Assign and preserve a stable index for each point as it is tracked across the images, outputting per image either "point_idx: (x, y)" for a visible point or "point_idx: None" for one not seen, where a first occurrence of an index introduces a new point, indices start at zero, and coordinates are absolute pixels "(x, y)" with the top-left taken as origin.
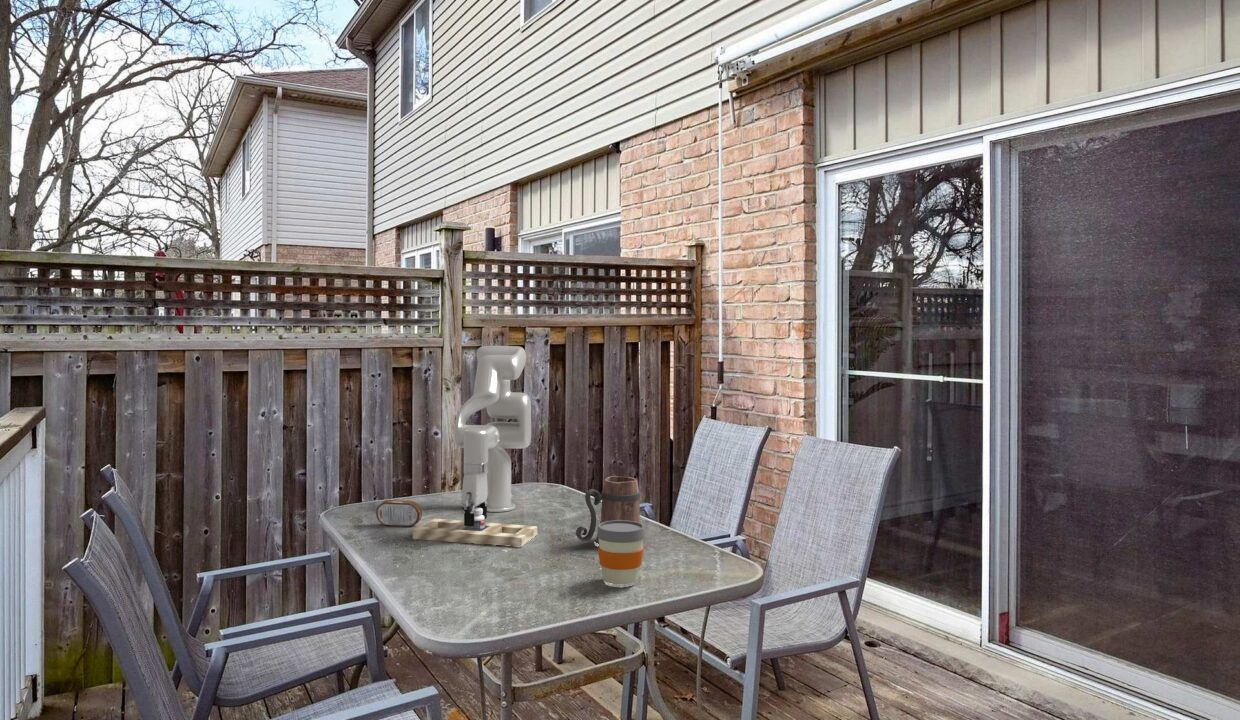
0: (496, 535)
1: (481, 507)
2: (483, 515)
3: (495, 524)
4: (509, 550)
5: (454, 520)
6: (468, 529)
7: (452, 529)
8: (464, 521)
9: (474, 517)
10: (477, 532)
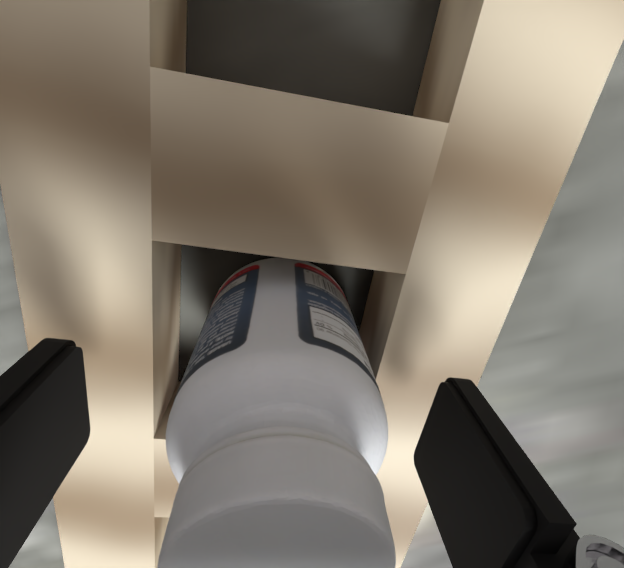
0: (70, 551)
1: (490, 560)
2: (432, 469)
3: (399, 474)
4: (32, 554)
5: (611, 13)
6: (218, 305)
7: (131, 134)
8: (10, 373)
9: (178, 472)
10: (101, 420)
